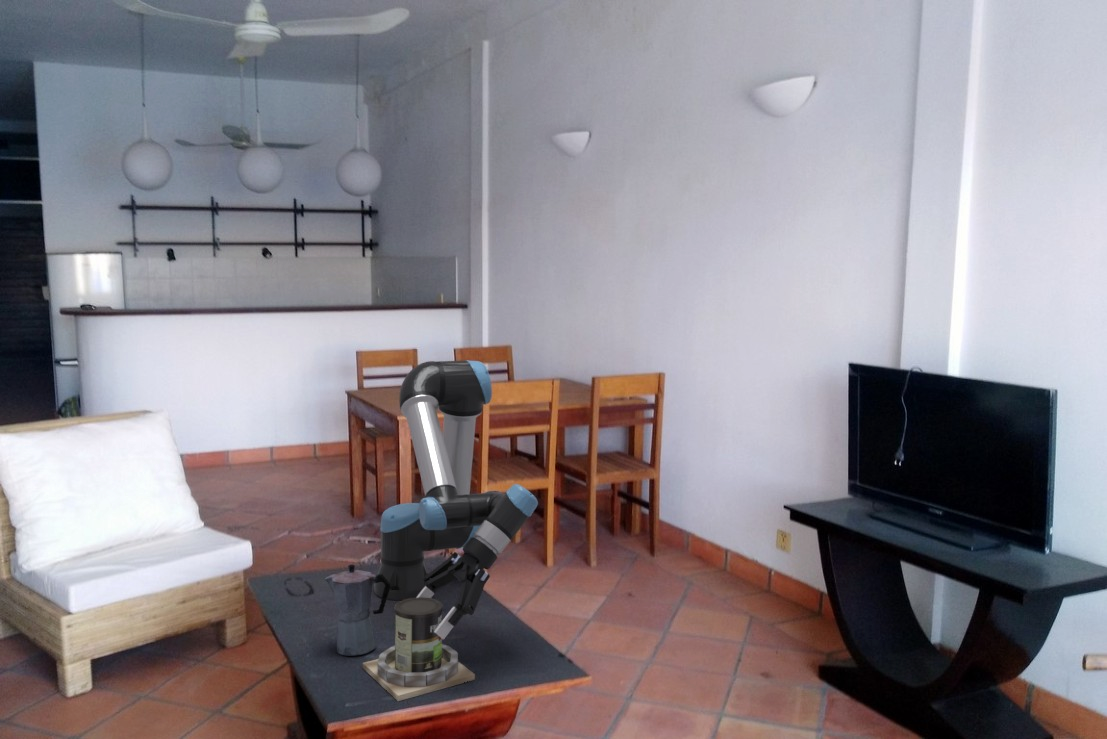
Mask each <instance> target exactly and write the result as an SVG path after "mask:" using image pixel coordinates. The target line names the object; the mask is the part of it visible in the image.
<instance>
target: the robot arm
mask: <svg viewBox="0 0 1107 739" xmlns="http://www.w3.org/2000/svg"><path fill="white" fill-rule="evenodd" d="M492 388H493V387H492V381H491V376H490V373H489V370H488V369H487V367H486V365H485V364H484V363H483V362H481V361H480V360H479V361H478V360H468V359H466V360H445V361H442V360H441V361H434V360H430V361H429V360H428V361H425V362H422V363H420V364H417V365H416V366H414V367H413V368H412V369H411V370H409V372H408V373H407V375H406V376H405V377H404V379H403V381H402V383H401V386H400V390H399V397H398V403H399V409H400V412H401V415H402V416H403V417H404V418H406V422H407V425H408V429H409V433H410V437H411V442H412V447H413V450H414V454H415V458H416V464H417V467H418V471H419V475H420V478H421V479H420V480H421V484H422V487H423V492H424V498H422V499H420V500H419V501H420V502H413V503H411V502H405V503H399V504H395V505H392V506H390V507H388V508H386V509H385V510H384V511H383V513H382V515H381V518H380V519H381V520H380V527H379V530H380V566H379V568H378V570H377V571H378V572H377V574H376V575H378V574H383V576H384V577H385V579H387V580H388V582H389V583H390V590H389V593H388V596H387V599H386V600H395V601H402V600H405V599H409V598H418V597H424V598H432V597H433V596H434V595H435V593H436V590H437V589H440V588H441V587H444V586H446V585H447V584H449V583H451V582H453V581H459V582H461V586H460V589H459V590H460V591H459V595H458V599H457V603H456V604H454V606H452V607H451V609H450V610H449V611H448V613H447V614H446V615H445V617H444V618H442V622H441V623H440V624H439V626H438V627H437V628H436V630H435V631H434V632H435V633H436V634H437V635H438V636H440V637H441V638H442V641H443V640H445V638H446V637H447V636H448V634H450V632H451V630H452V629H453V628H454V627H455V626H457V624H458V623H459V622H460V620H461V619H462V618H463V616H464V615H470V616H472V615H474V613H475V612H476V611H475V610H476V609H477V605H478V603H479V601H480V598H481V595H482V593H483V590H484V588H485V585H486V583H487V581H489V579H490V577H491V575H490V574H489V573H488V572H487V571H486V570H489V569H491V567H492V566H493V565H494V563H495V562H497V559H498V556H497V555H501V554H502V552H503V551H504V550H505V548H506V547H508V544H510V542H511V541H512V540H513V539H514V537H515V536H516V535H517V533H518V532H519V531H520V530H521V528H522V527H523V526H524V524H525V523H526V522H527V521H528V519H529V518H530V517H532V515H533V513H534V512H535V510H536V509H537V507H538V505H539V502H538V499H537V497H536V495H534V494H533V493H532V492H531V491H529V490H528V489H527V488H525V487H524V486H522V485H520V484H519V483H514V484H512V485H511V486H510V488H508V489H507V490H506V492H502V491H499V490H489V491H488V490H487V491H484V492H482V493H481V492H480V493H470V491H471V482H472V467H473V460H474V459H473V458H474V456H473V455H474V444H475V442H474V441H475V434H476V432H475V431H476V423H477V417H479V416H480V415H482V413H483V408H484V407H483V406H484V405H487V404H490V402H491V400H492V396H493V395H492V394H493V391H492V390H493V389H492ZM437 411H439V412H440V413H441V415H443V423H442V425H443V426H442V428H441V424H440V420H439V416H438V413H437ZM461 548H462V551H463V554H462V555H459V553H457V552H456V551H455V552H453V553H452V554H451V555H450V556H449V557H448V558H447V559H446V560H445V561H444V562H442V563H441V564H439V565H438V566H437V567H435V568H433V570H431V571H430V572H428V570H427V568H426V564H425V552H433V551H435V552H436V551H442V550H444V551H445V550H451V549H457V550H459V549H461ZM373 584H374V585H373V587H374V591H373V592H374V594H375V595H376V596H377V597H380V598H382V595H383V591H384V587H385V584H384V583H383V582H379V583H373Z"/></svg>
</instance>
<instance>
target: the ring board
mask: <svg viewBox="0 0 1107 739" xmlns="http://www.w3.org/2000/svg"><path fill="white" fill-rule="evenodd" d="M458 657H459V653H458V652H457V651H456V650H455V649H454V648H452V647H451V646H449V645H446V644H443V643H442V668H439V669H436V670H432V671H428V672H413V673H407V672H403V671H399V670H395V645H392V646H390V647H389V648H387V649H385V650H384V651H383V652H381V653H380V654H379V656H378V658H376V659H373V660H368V661H365V662H362V669H363V670H364V671H365V672H366V673H368V674H369V675H370V676H371V678H373V679H374V680H375V681H376V683H378V684H379V685H380V686H381V687H382V688H383V689H384V690H385V691H386V690H387V691H386V692H387V693H389V694H390V695H391V697H393V698H394V700H396V701H397V702H400V701H404V700H408V699H412V698H414V697H415V698H416V697H418V696H422V695H425V694H429V693H432V692H437V691H440V690H443V689H447V688H450V687H453V686H457V685H460V684H464V682H465V683H468V682H471V681H474V680H476V674H475V673H474V672H473V671H472V670H470V669H469V668H467V667H466V666H465V665H464V664H463V663H461V662H460V661H459V658H458ZM467 681H468V682H467Z"/></svg>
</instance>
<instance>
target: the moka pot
mask: <svg viewBox="0 0 1107 739" xmlns="http://www.w3.org/2000/svg"><path fill="white" fill-rule="evenodd" d="M347 567H348V568H347V569H348V570H346V571H341V572H339V573H335V574H329V576H327V577H325V579H324V581H326V582H327V584H328V586H329V588H330V589H331V592H332V593H333V595H334V600H335V605H336V611H337V617H338V626H337V640H336V641H337V642H336V652H337V653H338V654H339V655H341V656H345V657H349V656H350V657H351V656H352V657H354V656H360V655H365V654H368V653H370V652H371V651H373V650H375V649H376V642H375V638H374V632H373V626H372V621H371V609H370V608H371V604H372V591H373V584H375V583H379V582H383V583H384V584H385V587H384V591H383V595H382V597H381V599H380V605H379V606H378V609H373V610H372V614H373V615H379V614H383V613H384V608H385V607H386V602H387V600H388V599H387V596H388V593H389V590H390V583H389V582H388V580H387V579H385V577H384V576H383V574H378V573H377V574H378V575H377V574H374V573H372V572H371V571H368V570H367V571H365V570H361V569H360V570H359V569H356V570H355V568H356V565H355V564H349V565H348V566H347Z"/></svg>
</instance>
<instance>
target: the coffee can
mask: <svg viewBox="0 0 1107 739" xmlns="http://www.w3.org/2000/svg"><path fill="white" fill-rule="evenodd" d="M443 606H444V605H443V603H442V602H441V601H440V600H438V599H436V598H432V597H431V598H424V597H418V598H409V599H405V600H399V601H398V602H397V603H395V604H394V646H395V670H399V671H403V672H407V673H413V672H428V671H432V670H436V669H439V668H442V644H443V642H442V641H443V639H442V638H441V637H440V636H438V635H437V634H436V633H435V632H434V631H435V630H436V628H437V627H438V626H439V624H440V623H441V622H442V620H443Z"/></svg>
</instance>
